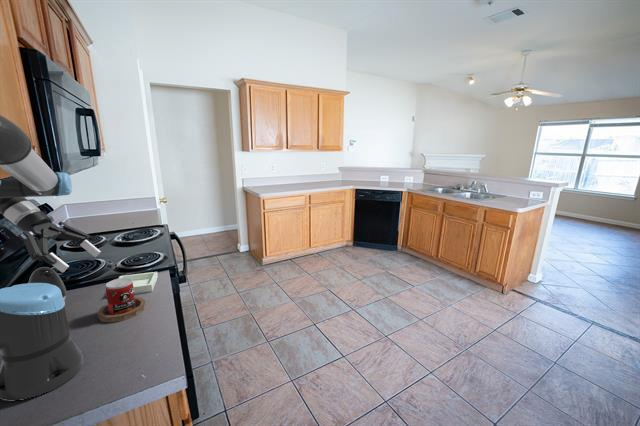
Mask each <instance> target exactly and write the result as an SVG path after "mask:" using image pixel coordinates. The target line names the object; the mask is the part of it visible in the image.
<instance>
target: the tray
mask: <svg viewBox="0 0 640 426" xmlns="http://www.w3.org/2000/svg"><path fill="white" fill-rule="evenodd" d="M158 276H159V275H158V271H154V272H153V271H151V272H150V271H149V272H144V273H143V272H142V273H136V274H135V273H134V274H125V275H120V276H118V278H117V279H119V278H131V279H132V281H133V288H134V295H138V294H139V295H140V294H146V293H153V291H154V289H155V286H156V284H157V280H158V279H159V277H158ZM157 278H158V279H157Z"/></svg>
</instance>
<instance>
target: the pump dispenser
mask: <svg viewBox="0 0 640 426" xmlns="http://www.w3.org/2000/svg"><path fill="white" fill-rule="evenodd" d="M27 283H47V284H51V285H55V286H57V287H58V288H59V289H60V290H61V293H62V296H63V300H64V301H65V300H66V297H67V289H66V286H65V284H64V282H63V280H62V279H61V277H60V275H59V274H58V273H57V272H56V270H55V269H52V268H50V267H48V266H42V267H38V268H36V269H35V270H34V271H33V272H32V273H31V275H30V276H29V280H28V282H27Z"/></svg>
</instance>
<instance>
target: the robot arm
mask: <svg viewBox="0 0 640 426" xmlns="http://www.w3.org/2000/svg"><path fill="white" fill-rule="evenodd" d="M0 169H2V170H3V171H5V173H9V174H10V175H12V176H11V177H9V178H6V179H2V180H0V214H1V215H2V216H3V217H5V219H7V220H8V221H9V222H10V223H12V224H13V225H15V226H16V227H17V228H18V229H19V230H21V231H22V232H21V234H20V235H19V239H20V240H22V241H23V243H24V245H25V248H26V249H27V252H28V254H29V256H30V259H31V260H32V261H36V260H37V261H40V262H42V261H45V263H46V264H48V265H50V266H53V267H54V268H55V269H57V270H58V271H59V272H61V273H62V274H63V273H64V272H66V270H67V269H69V267H70V265H68V264H67V263H66V262H65V261H63V260H62V259H61V258H60V257H58V255H56V254H55V253H54V252H49V242H48V241H50V240H55V239H62V240H66V241H71V242H75V243H77V244H80V247H81V248H83V249H84V250H85V251H86V252H88V253H89V254H90V255H91V256H92V257H93V258H96V257H97V256H98V255H100V254H101V252H102V251H101V250H100V249H98V248H97V247H96V246H95V245H94V244H93V243H92V242H91V241H89V238H90V237H91V235H90V234H89V233H88V234H87V233H85V232H84V231H82V230H79V229H78V228H74V227H72V226H70V225H68V224H66V223H65V222H64V221H59V222H58V223H56V224H55V223H53V222H52V221H51V218H50V216H49V215H48V214H46V213H44V211H41V210H40V208H39V207H38V206H36V205H35V204H34V203H32V202H31V201H30V200H28V199H27V198H36V197H37V198H39V197H44V198H45V197H61V196H69V195H70V194H71V193H72V190H73V186H72V179H71V177H70V175H69V174H68V173H67V172H60V171H56V172H55V171H53V170H52V168H51V167H49V166H48V164H47V163H46V162H45V161H44V160H43V159H42V157H40V156H39V154H38V153H37V152H36V151H35V150H34V149H33V144H32V141H31V139H30V137H29V136H28V134H27V133H26V132H25V131H24V130H23V129H22V128H21V127H19V126H18V125H17V124H16V123H14V122H13V121H11V120H10V119H8V118H7V117H5V116H3V115H1V114H0ZM35 238H36V240H35ZM0 358H1V363H0V398H2V399H7V400H20V399H26V398H30V399H32V398H31V397H34V398H36V397H35V396H37V397H39V396H41V395H40V394H42V395H44V394H43V393H45V394H47V393H49V392H51V391H53V390H55V389H57V388H59V387H60V386H63V385H64V384H65V383H67V382H69V380H72V379H73V377H75V376H76V375H77V374H78V373H79V372H80V370H81V369H82V367H83V366H84V356H83V352H82V351H81V349H80V348H79V347H78V346H77V344H76V343H75V342H74V340H73V339H72V338H71V335H70V329H69V324H68V318H67V312H66V302H65V300H63V296H62V293H61V290H60V289H59V288H58V287H57V286H55V285H51V284H47V283H28V282H27V283H20V284H14V285H12V286H10V287H9V286H8V287H3V288H0ZM46 392H47V393H46ZM38 395H39V396H38Z"/></svg>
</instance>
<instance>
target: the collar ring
mask: <svg viewBox="0 0 640 426" xmlns="http://www.w3.org/2000/svg"><path fill="white" fill-rule="evenodd" d="M134 297H135V304H138V306H137V307H135V309H134V310H132V311H129V312H126V313H124V314H118V315H110V314H106V313H107V312H109V307H108V303H106V304H104V305H103V306H101V307H100V308H99V310H98V311H97V313H96V314H97V318H98V319H99V321H100V322H104V323H115V322H116V323H117V322H122V321H126V320H128V319H131V318H133V317H136V316H138V315H139V314H141V313H142V312H143V311H145V309H146V306H147V304H146V300H145V299H144V298H143V297H137V296H134Z"/></svg>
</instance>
